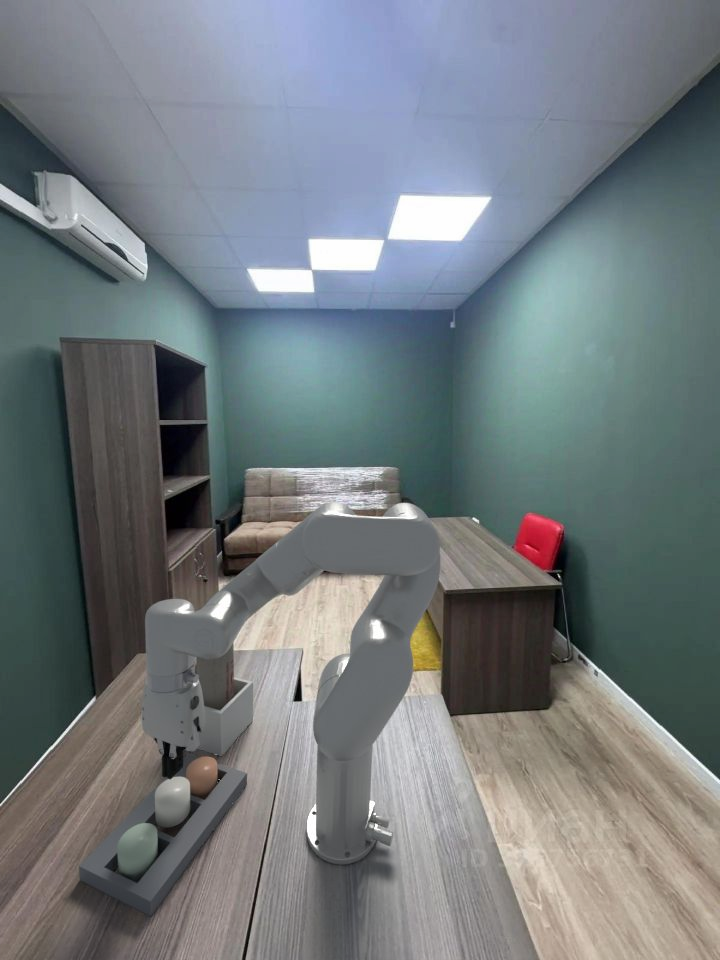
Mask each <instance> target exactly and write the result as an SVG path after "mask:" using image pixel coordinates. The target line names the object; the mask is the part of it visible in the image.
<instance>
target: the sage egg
mask: <svg viewBox="0 0 720 960" xmlns="http://www.w3.org/2000/svg"><path fill="white" fill-rule="evenodd" d="M157 830H158V828H157V827H156V825H153V824H150V823H142V824H138V825H135V826H133V827H132V828H130V829H129V830H127V831H126V832H125V833H124V834H123V835H122V837H121V838H120V840H119V842H118V845H117V854H118V867H117V872H118V873H117V874H119V875H121V876H123V877H125V878H127V879H129V880H131V881H134V882H136V883H138V882H139V881H140V879H141V878H142V877H143V876H144V875H145V873H146V872H147V871H148V870H149V868H150V867H151V866H152V865H153V863H154V862H155V861H156V860H157V858H158V857H159V850H158V837H157Z"/></svg>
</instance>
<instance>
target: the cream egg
mask: <svg viewBox="0 0 720 960" xmlns="http://www.w3.org/2000/svg"><path fill="white" fill-rule="evenodd" d="M190 813H191V812H190V782H189V781H188V779H186V778H184V777H173V778H172V779H167V780H166V781H164V782H163V783H161V784H160V785H159V787H158V788H157V790H156V792H155V819H156V824H157V825H158V826H159V827H160V828H161V827H162V828H172V827H173V828H174V827H176V826H177V825H180V824H181V823H182V822H184V820H186V819H187V818H188V816H189V814H190Z"/></svg>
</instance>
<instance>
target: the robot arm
mask: <svg viewBox="0 0 720 960" xmlns="http://www.w3.org/2000/svg"><path fill="white" fill-rule="evenodd" d="M440 550H441V540H440V536H439V533H438V531H437V529H436V527H435V526H434V524H433V523H432V522H431V520H430V518H429V517H428V515H427V514H426V512H424V510H423V509H421V507H418V506H417V505H415V504H413V503H410V502H399V503H397V504H396V503H395V504H394V505H393V506H391V507H389V508H388V509H387V510H386V511H385V512H384V514H383V515H382V516H367V515H357V514H356V513H355V511H354V510H353V509H352V508H351V507H349V506H348V505H346V504H345V503H343V502H337V501H330V502H326V503H324V504H322V505H320V506H318V508H316V509H315V510H313V511H312V512H311V513H310V514H309V515H307V516H306V517H305V518H304V519H303V520H301V521H300V522H299V523H297V525H296V526H294V527H293V528H292V529H291V530H289V531H288V532H287V533H286V534H285V535H283V537H281V538H280V539H279V540H278V541H277V542H276V543H273V545H272V546H271V547H269V548H268V549H267V550H266V551H265V552H263V553H262V554H261V555H259V556H258V557H257V558H256V559H255V560H254V561H253V562H252V563H250V564H249V566H247V567H246V568H245V569H243V570H242V571H241V572H240V573H238V574H237V575H236V576H235V577H234V578H233V579H231V580H230V581H229V582H228V583H227V584H225V585H224V586H223V587H222V588H220V590H218V591H217V592H216V593H215V594H213V596H212V597H211V598H210V599H209V600H208V601H207V603H205V605H204V606H202V608H201V609H198V610H196V611H195V607H194V604H193V603H191V602H190V601H189V600H187V599H184V598H170V599H164V600H160V601H157V602H155V603H154V604H152V605H151V606H150V607H148V609H147V610H146V613H145V617H144V628H145V629H144V630H145V633H144V634H145V661H146V662H145V663H146V664H145V666H146V669H145V671H146V680H145V683H144V686H143V692H142V700H141V702H142V703H141V727H142V730H143V733H145V734H146V735H147V736H149V737H150V738H151V739H153V740H154V741H155V743H156V744H157V750H158V754H159V755H161V770H162V771H161V773H162V774H161V776H162V777H163V778H165V777H167V778H168V779H172V778H173V777H174V776H175V775H176V774H177V773H178V772H179V771H180V770H181V769H182V767H183V759H184V751H186V752H195V751H196V750H198V749H197V748H198V747H199V746H200V741H199V737H198V732H201V733H202V732H203V731H204V730H205V710H204V701H203V694H202V689H201V685H200V682H199V680H198V679H199V675H198V674H196V673H195V663H196V657H197V658H201V659H217V658H219V657H221V656H223V655H224V654H225V653H226V652H227V651H228V650H229V649H230V647H231V645H232V644H233V642H234V643H235V640H236V638H237V637H238V635H239V633H240V632H241V630H242V628H243V627H244V625H245V623H246V622H247V621H248V620H250V618H251V617H252V616H253V615H254V614H256V613H257V612H259V610H261V609H262V608H263V607H264V606H265V605H267V604H268V603H269V602H271V601H272V600H274V599H275V598H277V597H279V596H281V595H285V596H287V597H291V596H295V595H297V594H298V593H299V592H300V591H302V590H303V589H304V588H305V587H307V586H308V585H309V584H311V582H313V581H314V580H315V579H316V578H317V577H318V576H320V575H321V574H322V573H323V572H324V571H325V572H329V573H335V574H346V575H347V574H348V575H364V576H365V575H367V576H383V578H382V579H381V582H380V583H379V586H378V587H377V589H376V591H375V592H374V594H373V595H372V597H371V599H370V601H369V602H368V604H367V605H366V607H365V608H364V610H363V612H362V613H361V614H360V616H359V618H358V619H357V621H356V622H355V624H354V626H353V628H352V630H351V632H350V633H351V634H350V642H349V643H350V645H349V653H342V654H338V655H337V656H334V657H333V658H332V659H330V660H329V661H328V662H327V664H326V665H325V666H324V668H323V669H322V671H321V674H320V678H319V682H318V688H317V692H316V698H315V700H316V701H315V702H316V703H315V707H314V708H315V709H314V714H313V722H312V723H313V724H312V729H313V731H312V732H313V735H314V737H313V738H314V740H315V742H316V744H317V745H316V746H317V748H316V749H317V751H316V779H315V780H316V785H315V787H316V790H315V792H316V793H315V804H314V806H313V807H312V809H311V810H310V812H309V814H308V817H307V820H306V821H307V822H306V838H307V842H308V844H309V846H310V848H311V850H312V851H313V852H314V854H315V855H316V856H317V857H319V858H321V860H323V861H325V862H328V863H329V864H330V863H331V864H333V865H341V866H342V865H349V864H353V863H355V862H359V861H360V860H362V859H364V858H365V857H366V856H367V855H368V854H369V853H370V852H371V850H372V849H373V848H374V846H375V844H376V842H379V843H380V844H382V845H385V846H388V847H392V842H393V837H394V832H393V831H391V830H387V829H389V826H390V818H389V817H384V816H380V815H378V812H375V806H376V805H375V804H376V803H375V802H374V801H372V800H371V789H372V788H371V787H372V785H371V784H372V769H373V768H372V767H373V766H372V765H373V764H372V763H373V746H374V743H376V741H377V739H378V738H379V736H380V734H381V733H382V732H383V730H384V728H385V727H386V726H387V724H388V723H389V721H390V720H391V718H392V716H393V715H394V713H395V712H396V710H397V708H398V706H400V704H401V702H402V700H403V699H404V697H405V695H406V694H407V692H408V689H409V688H410V684H411V682H412V679H413V678H412V677H413V674H414V655H413V652H412V648H411V639H412V637H413V634H414V632H415V630H416V629H417V626H418V625H419V623H420V622H421V620H422V618H423V616H424V614H425V612H426V610H427V609H428V607H429V605H430V603H431V601H432V600H433V598H434V595H435V593H436V590H437V586H438V584H439V580H440V574H441V551H440ZM378 826H380V827H382V828H380V827H378Z"/></svg>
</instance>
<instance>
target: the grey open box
mask: <svg viewBox="0 0 720 960" xmlns="http://www.w3.org/2000/svg"><path fill="white" fill-rule="evenodd" d="M204 710H205V730H204V731H203V732H202V733H201V732H198V737H199V741H200V746H199V747H198V748H197V749H196V750H199V751H202V750H204V751H203V752H205V751H207V752H206V753H208V752H210V753H209V754H211V753H213V754H212V755H214V754H217V755H219V756H218V757H220V756H222V755H223V754H224V755H225V754H226V753H227V752H228V751H229V749H230V748H231V747H232V746H233V744H234V743H235V742H236V741H237V740H236V739H238V738H239V737H240V736H241V735H242V734H243V733H244V732H245V730H246V729H247V728H248V727H249V726H250V725H251V723H252V722H253V721H254V682H253V681H251V680H247V679H244V678H239V677H236V676H234V698H233V699H232V700H231V701H229V702H228V703H227V704H226V705H225V706H224V707H223V708H222V709H221V710H217V709H213V708H210V707H206V706H204ZM252 720H253V721H252ZM249 724H250V725H249ZM248 725H249V726H248ZM247 726H248V727H247ZM242 732H243V733H242ZM241 733H242V734H241ZM240 734H241V735H240ZM239 735H240V736H239ZM238 736H239V737H238ZM237 737H238V738H237ZM235 740H236V741H235ZM234 741H235V742H234ZM233 742H234V743H233ZM229 747H230V748H229ZM217 755H216V756H217ZM224 755H223V756H224ZM223 756H222V757H223Z"/></svg>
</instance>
